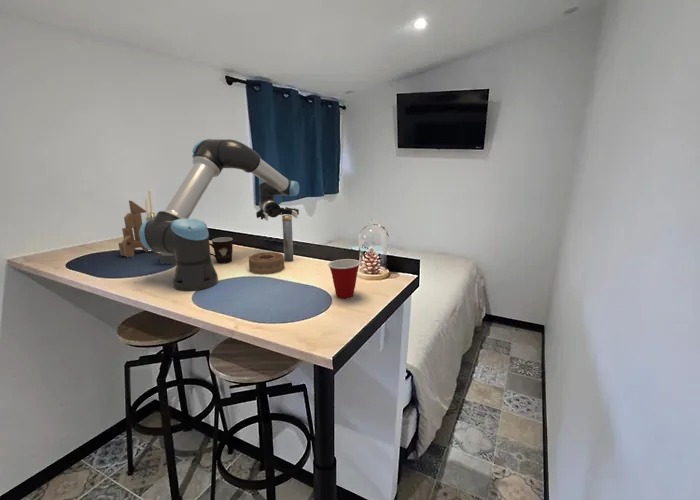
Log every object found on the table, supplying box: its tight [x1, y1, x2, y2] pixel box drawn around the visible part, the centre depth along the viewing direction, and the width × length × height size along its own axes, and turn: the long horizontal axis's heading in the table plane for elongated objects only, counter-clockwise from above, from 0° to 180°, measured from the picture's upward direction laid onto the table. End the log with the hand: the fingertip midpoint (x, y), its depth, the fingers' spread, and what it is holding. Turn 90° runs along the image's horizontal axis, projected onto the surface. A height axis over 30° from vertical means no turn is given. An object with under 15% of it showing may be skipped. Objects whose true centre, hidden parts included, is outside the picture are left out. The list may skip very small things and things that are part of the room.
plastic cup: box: [327, 258, 361, 300], centre depth 122 cm, size 11×11×12 cm
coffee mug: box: [209, 236, 234, 265], centre depth 159 cm, size 12×9×10 cm
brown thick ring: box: [248, 251, 285, 275], centre depth 151 cm, size 14×14×5 cm
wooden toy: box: [118, 200, 148, 257], centre depth 168 cm, size 16×7×25 cm, turn 143°
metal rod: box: [281, 214, 294, 263], centre depth 160 cm, size 4×4×20 cm
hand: (282, 216), depth 166 cm, fingers open, 13 cm apart
